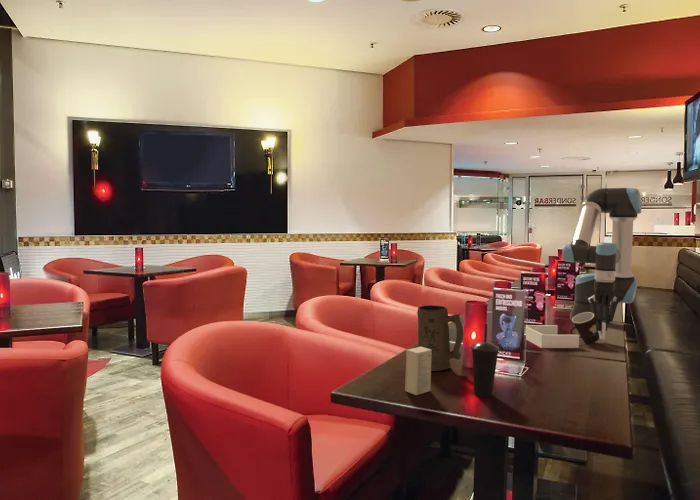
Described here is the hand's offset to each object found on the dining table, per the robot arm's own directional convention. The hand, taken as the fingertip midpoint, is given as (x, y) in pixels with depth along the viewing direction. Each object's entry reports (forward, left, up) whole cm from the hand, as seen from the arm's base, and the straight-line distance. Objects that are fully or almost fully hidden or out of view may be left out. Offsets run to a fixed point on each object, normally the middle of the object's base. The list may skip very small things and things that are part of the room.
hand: (601, 338), depth 210 cm
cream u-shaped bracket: (+22, 0, -2) cm, 22 cm away
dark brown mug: (+6, 0, -1) cm, 6 cm away
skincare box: (+88, +56, -2) cm, 105 cm away
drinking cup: (+70, +59, -2) cm, 92 cm away
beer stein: (+76, +34, -2) cm, 84 cm away
